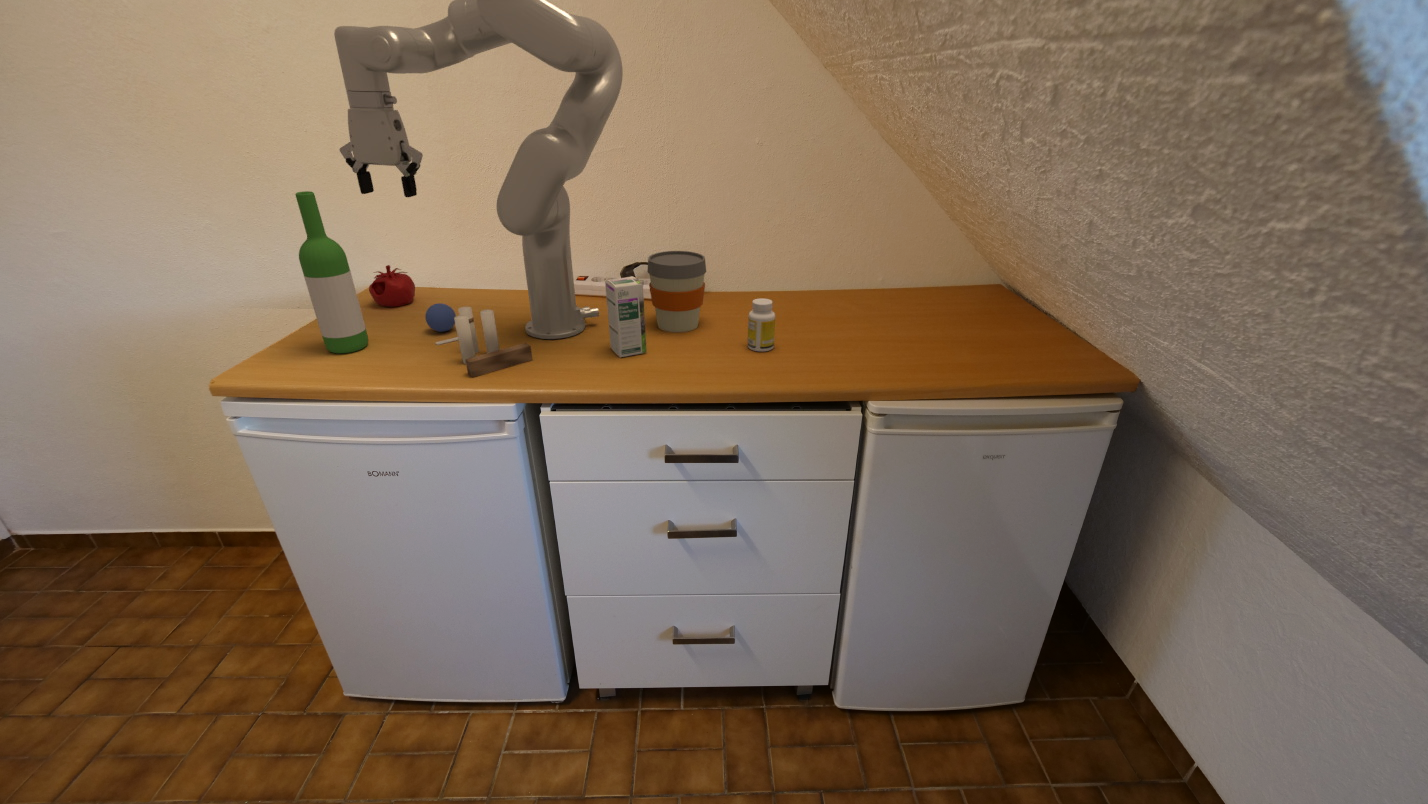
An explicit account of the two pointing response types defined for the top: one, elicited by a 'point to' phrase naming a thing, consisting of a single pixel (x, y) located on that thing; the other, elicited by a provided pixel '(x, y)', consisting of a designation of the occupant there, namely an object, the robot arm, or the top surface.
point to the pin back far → (464, 337)
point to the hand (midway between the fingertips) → (389, 194)
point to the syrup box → (626, 316)
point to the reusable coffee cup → (677, 288)
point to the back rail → (498, 359)
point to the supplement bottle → (761, 325)
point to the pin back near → (489, 330)
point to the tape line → (446, 341)
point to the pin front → (468, 312)
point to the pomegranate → (392, 288)
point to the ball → (440, 317)
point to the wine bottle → (329, 283)
